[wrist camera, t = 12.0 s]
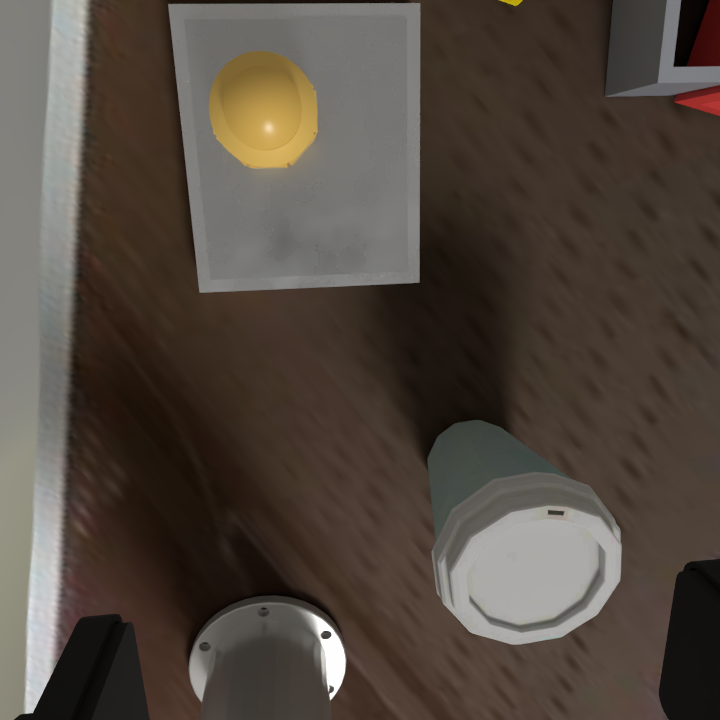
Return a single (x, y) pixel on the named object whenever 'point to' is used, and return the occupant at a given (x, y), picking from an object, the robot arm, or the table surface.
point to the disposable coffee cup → (516, 538)
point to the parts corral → (650, 52)
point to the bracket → (705, 61)
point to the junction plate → (320, 160)
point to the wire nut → (263, 110)
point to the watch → (512, 1)
